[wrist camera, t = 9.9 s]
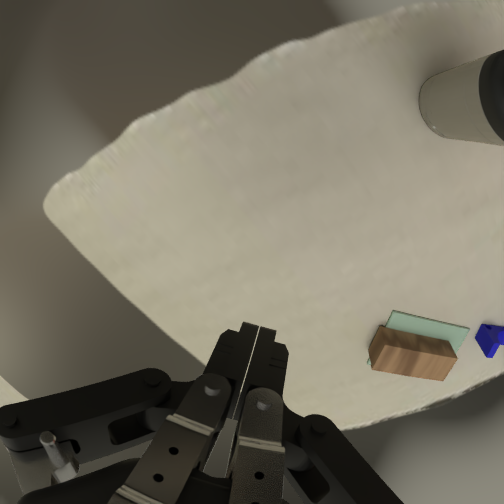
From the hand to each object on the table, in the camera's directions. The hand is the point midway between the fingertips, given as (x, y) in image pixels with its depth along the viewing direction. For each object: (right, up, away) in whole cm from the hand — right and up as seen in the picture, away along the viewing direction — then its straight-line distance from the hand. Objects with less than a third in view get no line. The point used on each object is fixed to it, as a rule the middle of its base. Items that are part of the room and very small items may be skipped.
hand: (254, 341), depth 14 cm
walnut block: (+19, -11, +32) cm, 39 cm away
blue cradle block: (+46, -10, +30) cm, 56 cm away
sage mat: (+28, -12, +34) cm, 46 cm away
